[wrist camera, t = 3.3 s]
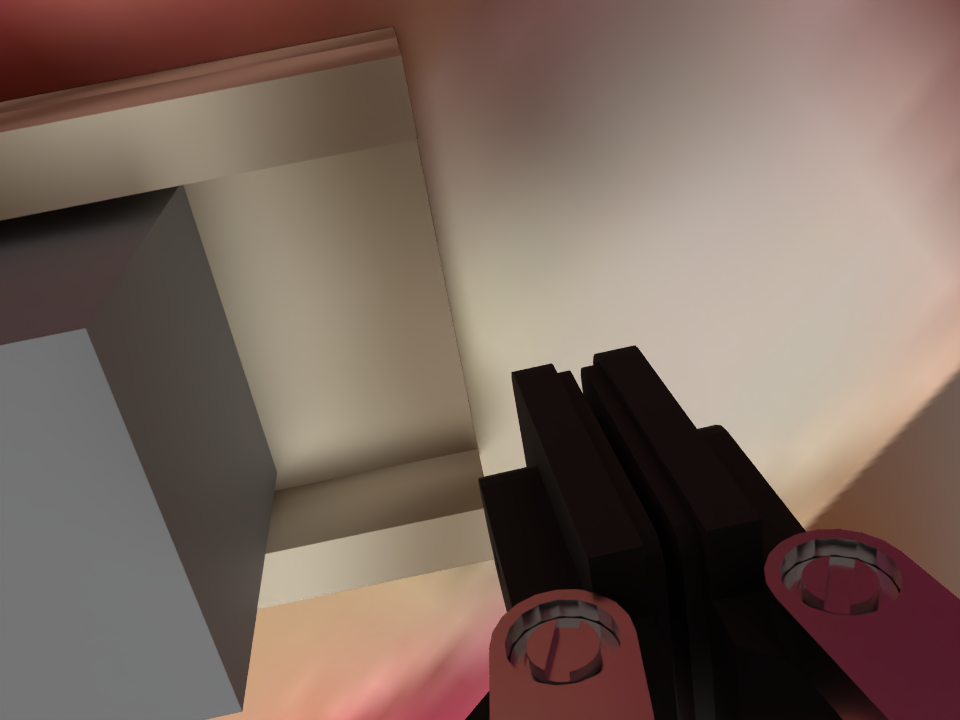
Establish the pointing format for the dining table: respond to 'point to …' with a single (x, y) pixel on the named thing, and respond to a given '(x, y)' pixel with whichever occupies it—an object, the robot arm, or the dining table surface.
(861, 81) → the dining table surface
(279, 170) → the birch chute
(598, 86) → the dining table surface
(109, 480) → the slate block
